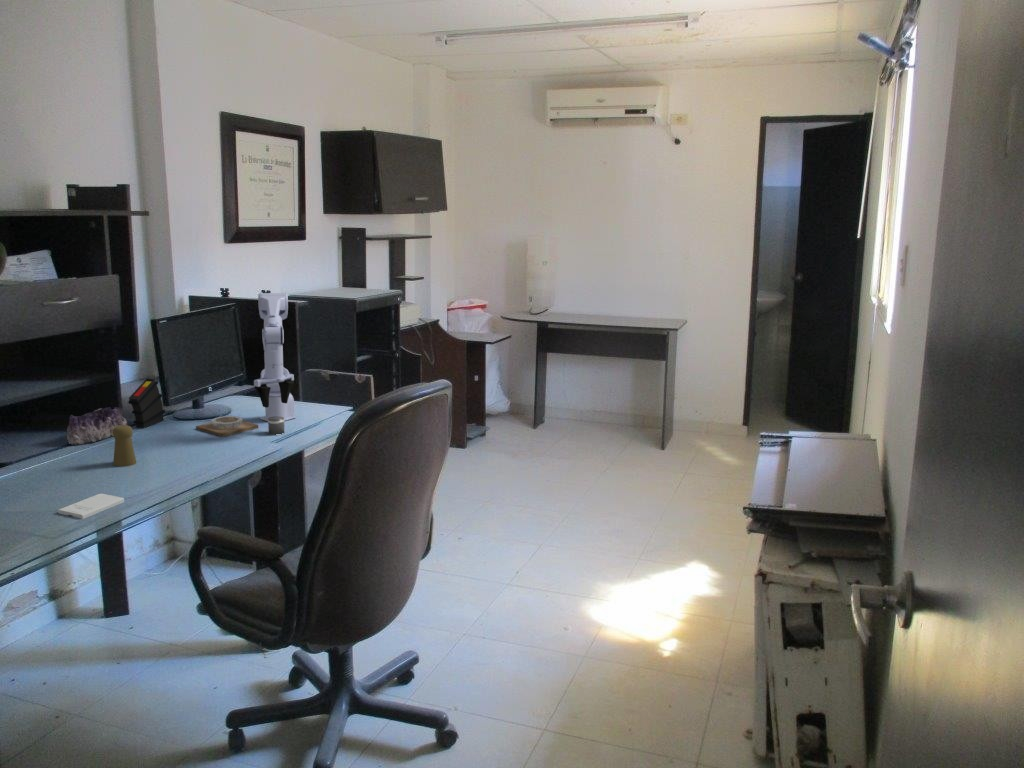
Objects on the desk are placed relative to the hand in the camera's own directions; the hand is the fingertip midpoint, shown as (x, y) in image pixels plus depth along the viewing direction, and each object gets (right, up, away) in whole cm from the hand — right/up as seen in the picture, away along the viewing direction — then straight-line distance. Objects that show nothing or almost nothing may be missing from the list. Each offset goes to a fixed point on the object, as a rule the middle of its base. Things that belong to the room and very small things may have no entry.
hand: (275, 404), depth 268 cm
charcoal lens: (0, -9, +2) cm, 10 cm away
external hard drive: (-26, -24, -65) cm, 74 cm away
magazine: (-44, -7, +6) cm, 45 cm away
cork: (-34, -16, -32) cm, 49 cm away
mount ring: (-17, -8, +5) cm, 20 cm away
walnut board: (-17, -8, +5) cm, 20 cm away
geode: (-54, -10, -9) cm, 55 cm away
